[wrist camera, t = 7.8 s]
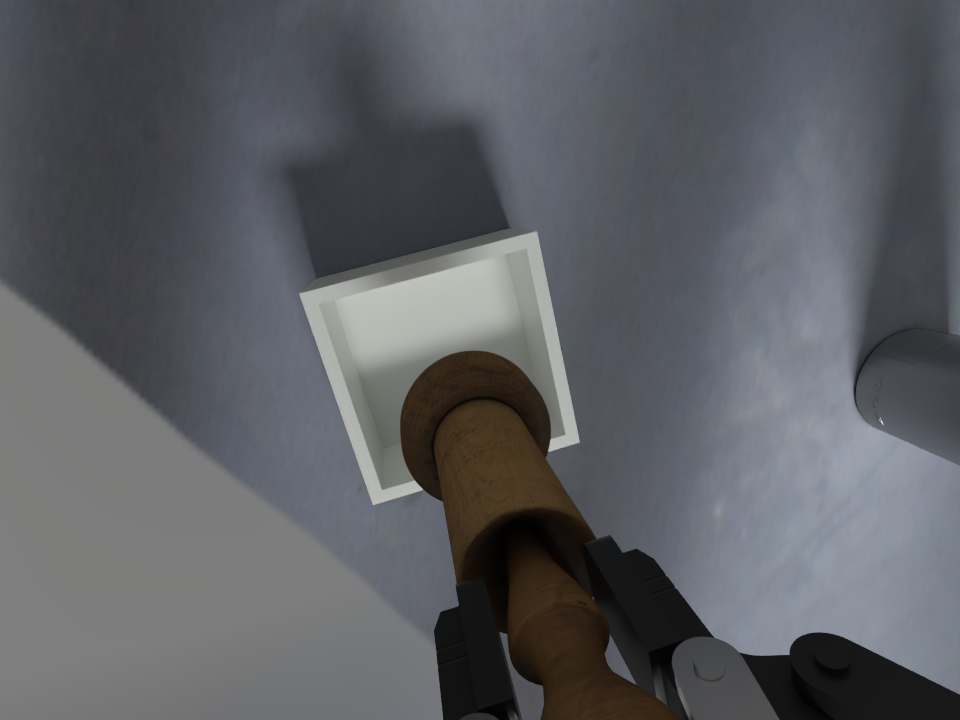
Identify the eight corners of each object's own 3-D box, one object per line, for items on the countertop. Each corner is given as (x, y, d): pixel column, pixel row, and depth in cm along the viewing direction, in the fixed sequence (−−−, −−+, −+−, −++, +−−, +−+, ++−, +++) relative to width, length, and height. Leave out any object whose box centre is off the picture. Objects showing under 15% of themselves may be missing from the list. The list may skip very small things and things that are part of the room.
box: (509, 228, 36) (536, 231, 30) (548, 404, 40) (579, 442, 34) (316, 278, 35) (299, 293, 29) (375, 455, 39) (373, 505, 33)
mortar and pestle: (397, 351, 23) (428, 749, 6) (541, 347, 24) (922, 672, 7) (401, 488, 25) (435, 1103, 8) (535, 478, 26) (828, 999, 9)
